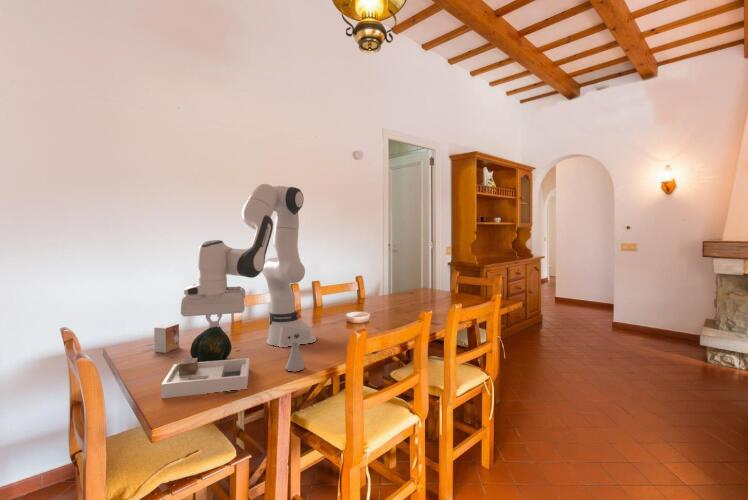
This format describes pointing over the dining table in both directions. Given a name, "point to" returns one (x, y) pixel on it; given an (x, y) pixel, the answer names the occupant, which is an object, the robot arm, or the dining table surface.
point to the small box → (166, 337)
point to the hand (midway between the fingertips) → (214, 326)
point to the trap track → (207, 378)
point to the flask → (295, 358)
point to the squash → (211, 345)
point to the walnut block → (188, 366)
